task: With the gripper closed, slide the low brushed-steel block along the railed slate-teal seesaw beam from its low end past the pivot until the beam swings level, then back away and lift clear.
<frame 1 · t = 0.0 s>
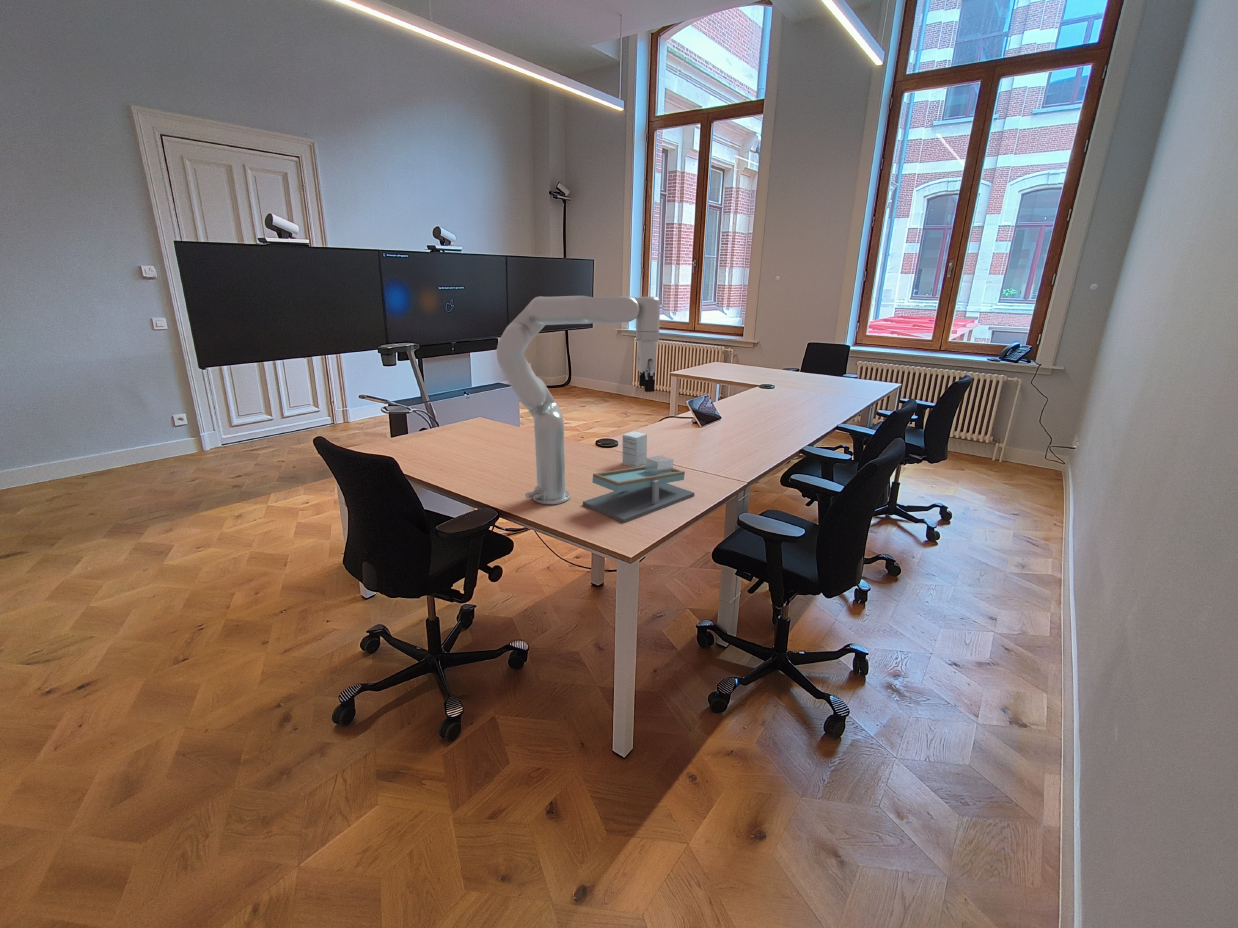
hand: (646, 388, 186), 37 cm above the table, tool pointing down, fingers open, 9 cm apart
steel block: (658, 472, 195), point 8 cm above the table, tilted 6°, touching beam
beam: (640, 476, 189), point 8 cm above the table, hinge at 6.4°, touching steel block
supplement box: (634, 464, 230), on the table
stand: (639, 500, 192), on the table
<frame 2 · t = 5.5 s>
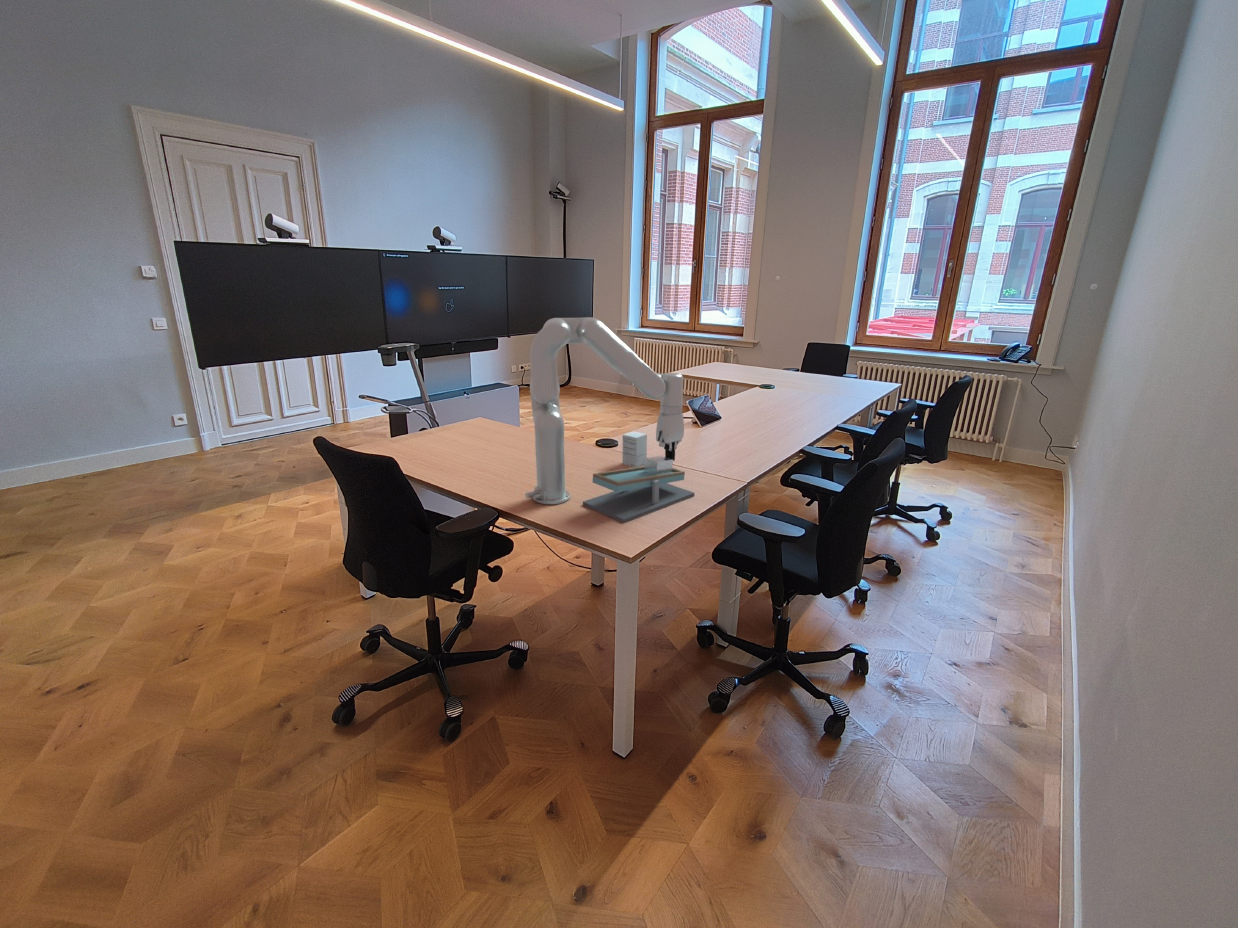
hand: (669, 460, 198), 11 cm above the table, tool pointing down, fingers closed
steel block: (657, 472, 195), point 8 cm above the table, tilted 7°, touching beam, gripper
everything else where it was.
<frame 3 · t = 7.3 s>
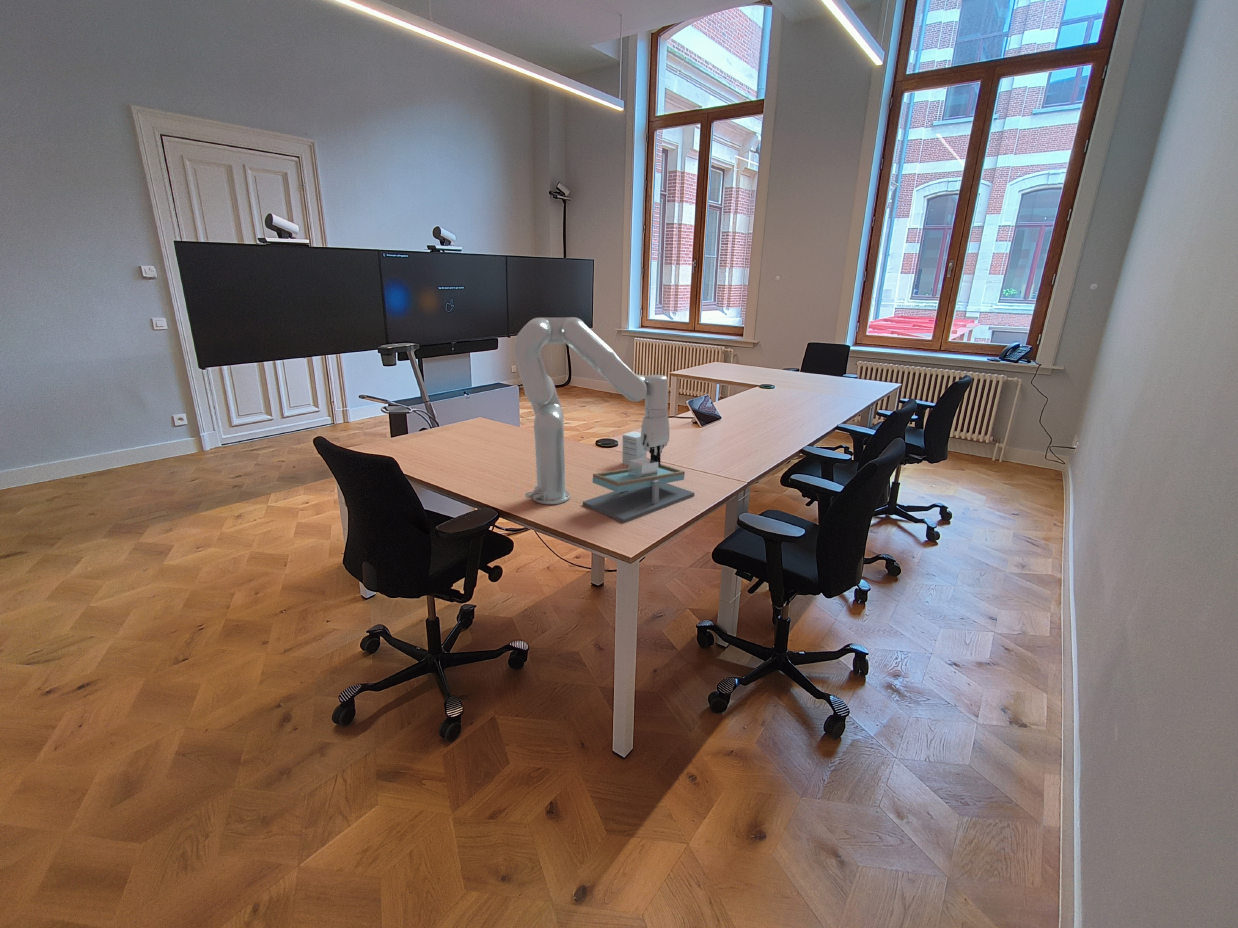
hand: (655, 464, 193), 11 cm above the table, tool pointing down, fingers closed
steel block: (642, 475, 189), point 9 cm above the table, tilted 6°, touching beam
everything else where it was.
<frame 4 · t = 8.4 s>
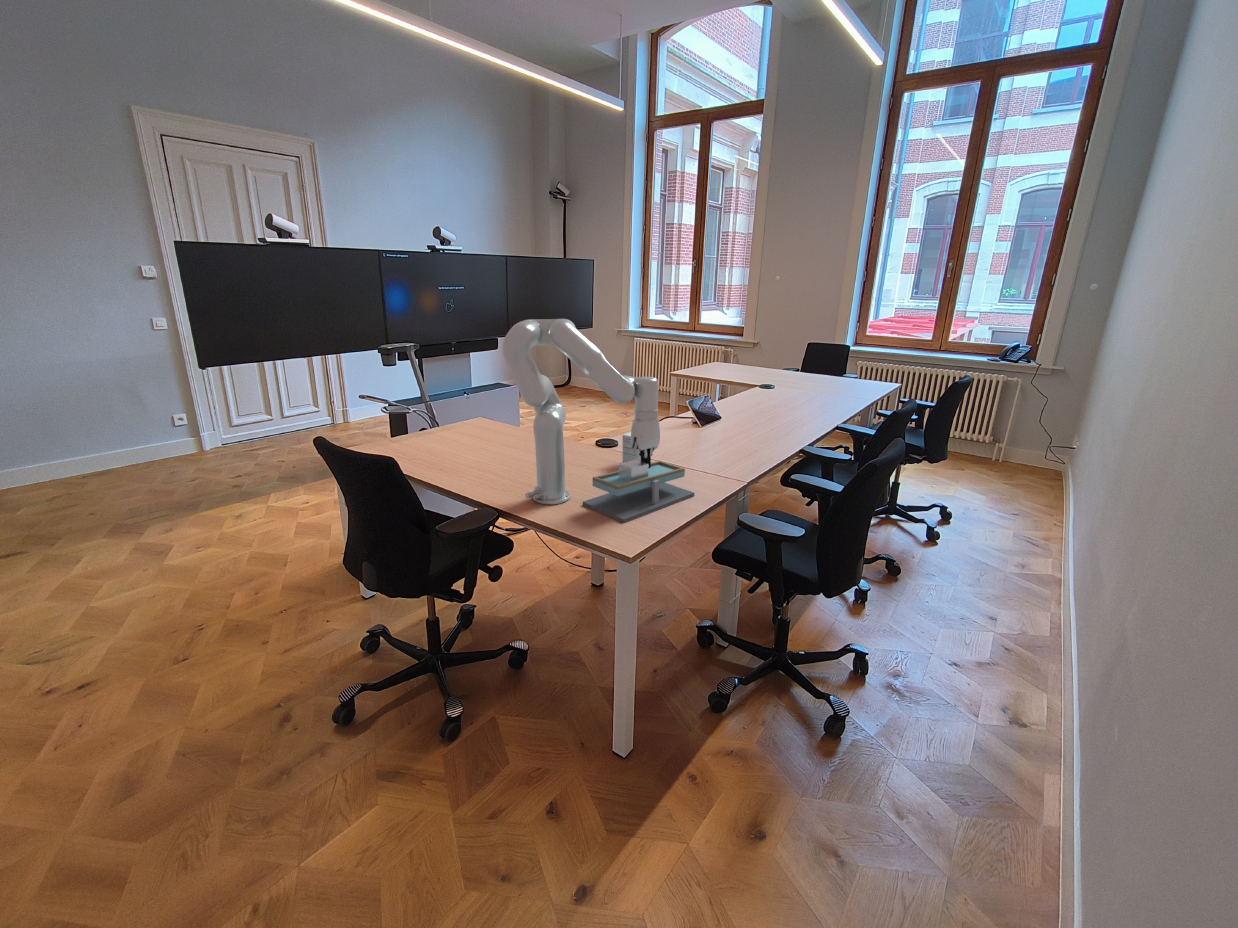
hand: (645, 467, 190), 11 cm above the table, tool pointing down, fingers closed
steel block: (633, 478, 186), point 9 cm above the table, touching beam, gripper
beam: (640, 476, 189), point 8 cm above the table, hinge at 2.2°, touching steel block
everything else where it was.
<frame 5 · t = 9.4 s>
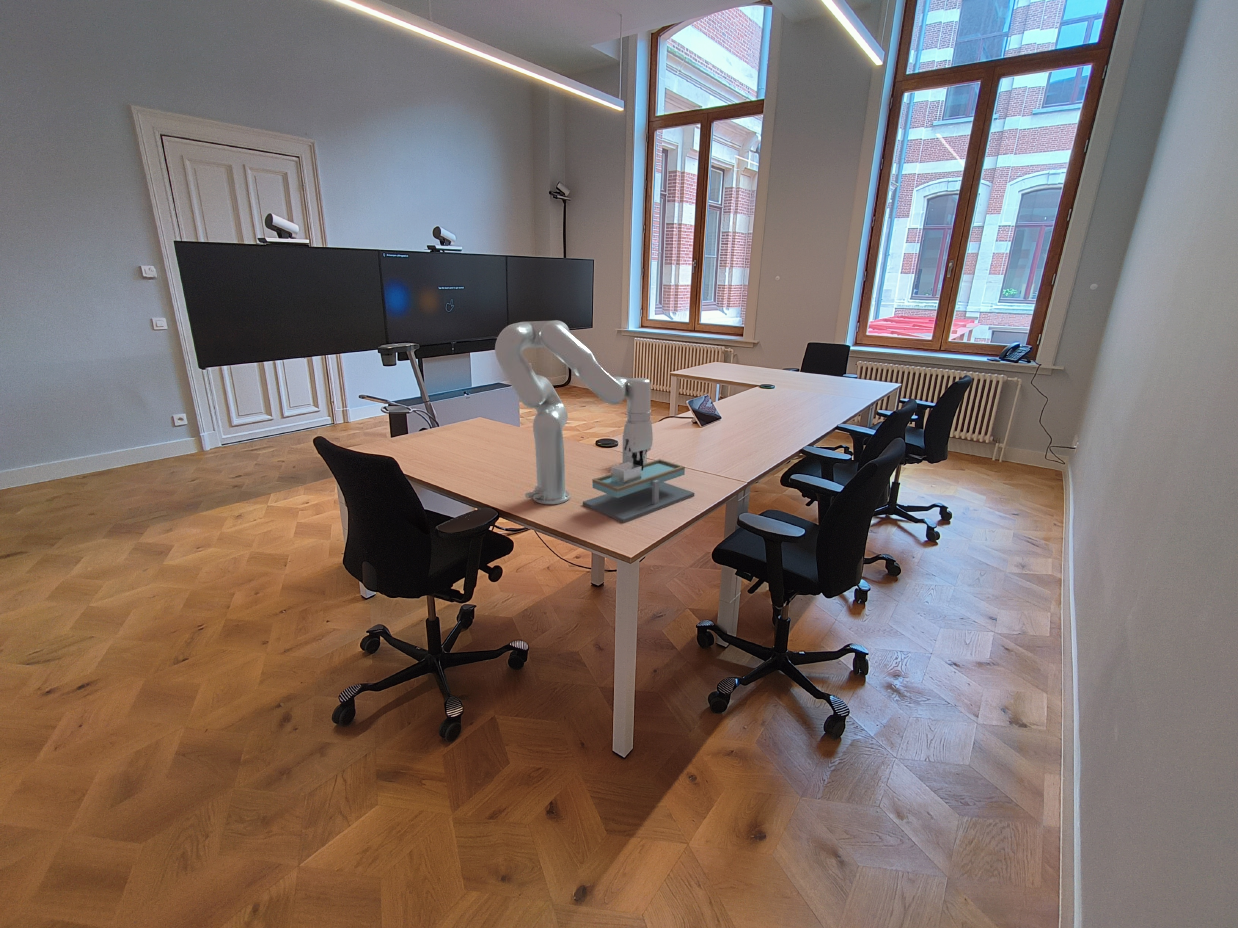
hand: (638, 470, 187), 11 cm above the table, tool pointing down, fingers closed
steel block: (626, 481, 184), point 9 cm above the table, touching gripper
beam: (640, 476, 189), point 8 cm above the table, hinge at -0.2°
everything else where it was.
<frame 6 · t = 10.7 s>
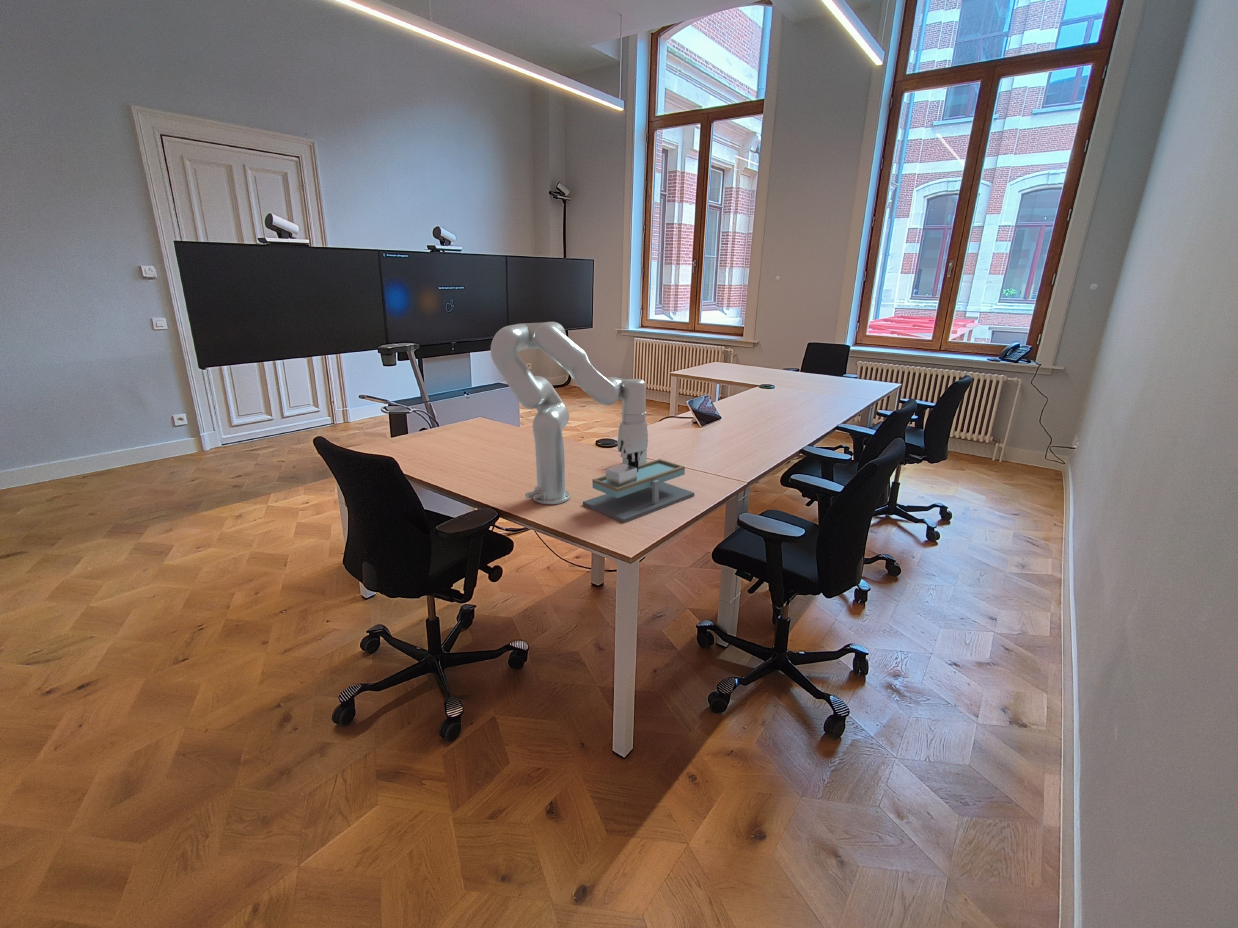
hand: (633, 471, 186), 11 cm above the table, tool pointing down, fingers closed
steel block: (621, 482, 182), point 9 cm above the table, touching beam, gripper
beam: (640, 476, 189), point 8 cm above the table, hinge at -0.4°, touching steel block
everything else where it was.
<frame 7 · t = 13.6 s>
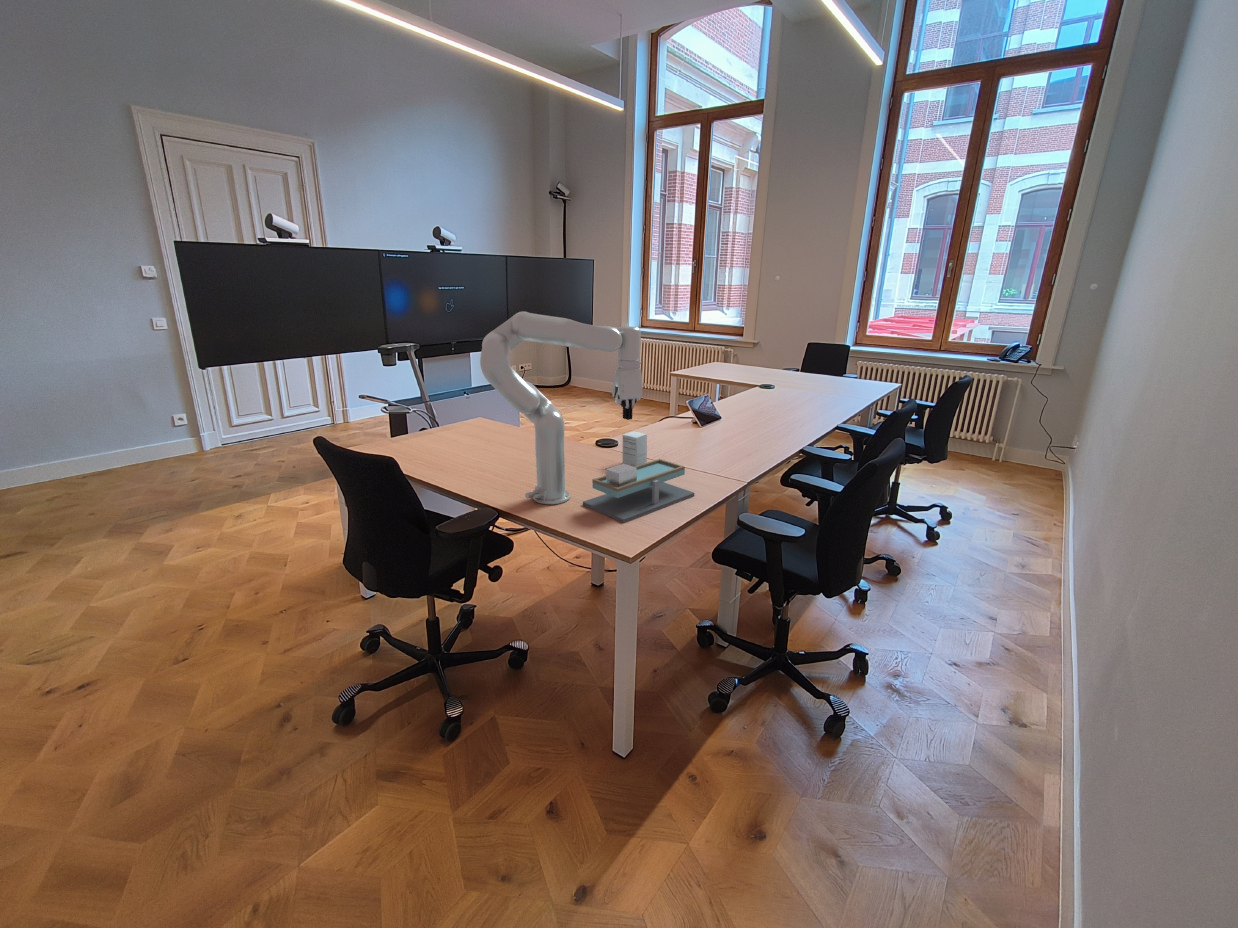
hand: (627, 418, 191), 27 cm above the table, tool pointing down, fingers closed
steel block: (621, 483, 182), point 9 cm above the table, touching beam
everything else where it was.
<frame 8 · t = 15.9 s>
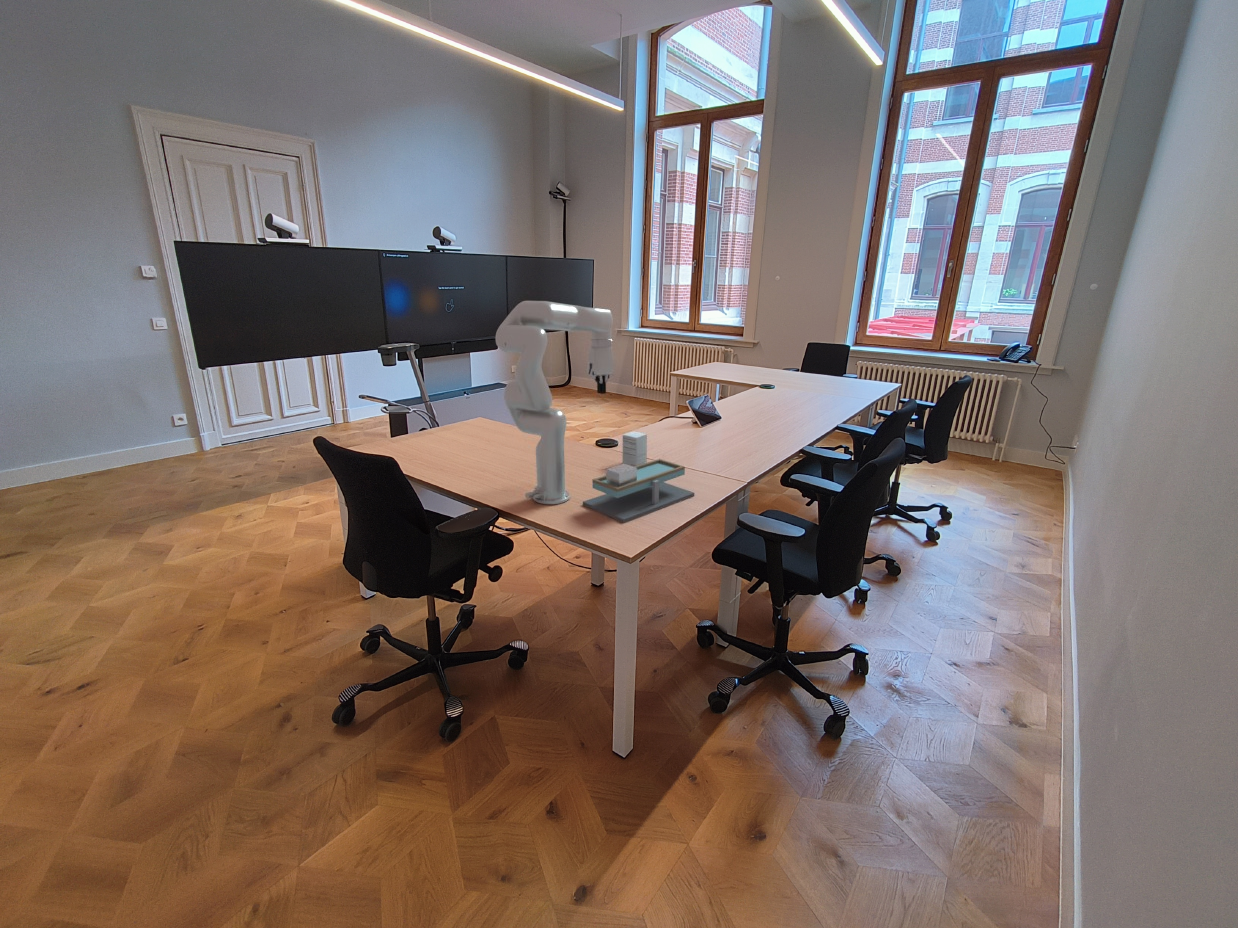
hand: (601, 393, 211), 31 cm above the table, tool pointing down, fingers closed
nothing on the table moved.
at the end: beam at +0° (first picture: +6°); steel block inside the target area on the beam (1.0 cm from its centre), point 0.9 cm above the beam's base; the gripper is holding nothing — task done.
